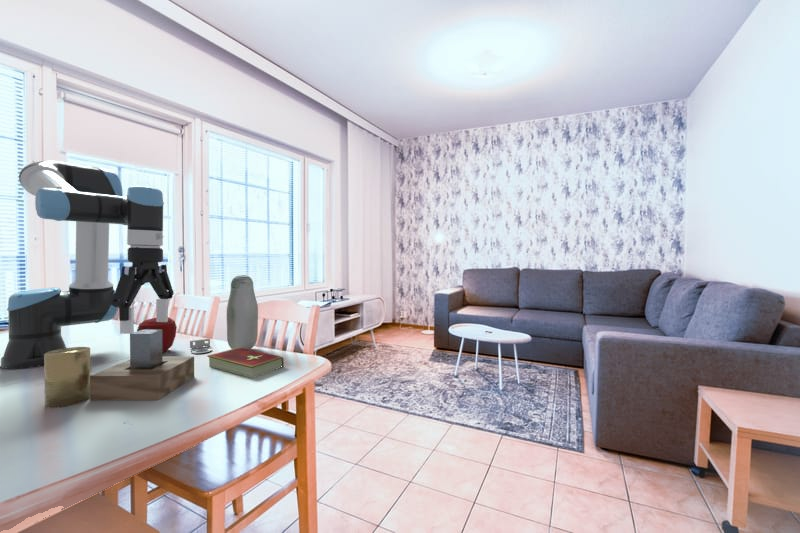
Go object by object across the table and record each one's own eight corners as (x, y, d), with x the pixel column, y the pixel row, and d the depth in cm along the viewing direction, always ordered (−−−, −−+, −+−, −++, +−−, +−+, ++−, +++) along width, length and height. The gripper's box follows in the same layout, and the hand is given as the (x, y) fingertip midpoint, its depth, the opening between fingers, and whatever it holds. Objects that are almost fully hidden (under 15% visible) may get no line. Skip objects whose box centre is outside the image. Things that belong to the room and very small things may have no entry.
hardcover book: (240, 358, 121) (240, 346, 121) (283, 368, 111) (283, 355, 110) (207, 367, 110) (207, 354, 110) (251, 380, 100) (251, 365, 100)
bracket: (192, 356, 121) (192, 346, 121) (189, 350, 130) (189, 340, 130) (213, 353, 125) (213, 344, 125) (209, 347, 133) (209, 338, 133)
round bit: (66, 393, 88) (65, 346, 87) (99, 393, 88) (98, 346, 87) (34, 407, 80) (33, 356, 79) (71, 407, 80) (70, 356, 80)
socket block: (137, 376, 100) (137, 356, 100) (194, 376, 101) (194, 356, 100) (90, 400, 84) (89, 375, 84) (158, 400, 85) (158, 375, 85)
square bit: (143, 380, 95) (143, 329, 94) (162, 380, 95) (162, 329, 94) (130, 387, 90) (129, 333, 89) (150, 387, 90) (149, 333, 89)
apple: (157, 347, 131) (156, 312, 131) (185, 348, 130) (184, 313, 129) (128, 356, 119) (127, 317, 119) (158, 358, 118) (158, 319, 117)
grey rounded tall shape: (235, 347, 133) (235, 274, 132) (261, 347, 133) (262, 274, 132) (221, 354, 123) (221, 275, 122) (249, 355, 123) (250, 276, 122)
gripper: (125, 247, 79) (125, 339, 80) (187, 247, 104) (186, 318, 105) (90, 246, 78) (91, 338, 79) (161, 246, 103) (161, 317, 104)
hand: (145, 327), depth 92 cm, fingers open, 13 cm apart
